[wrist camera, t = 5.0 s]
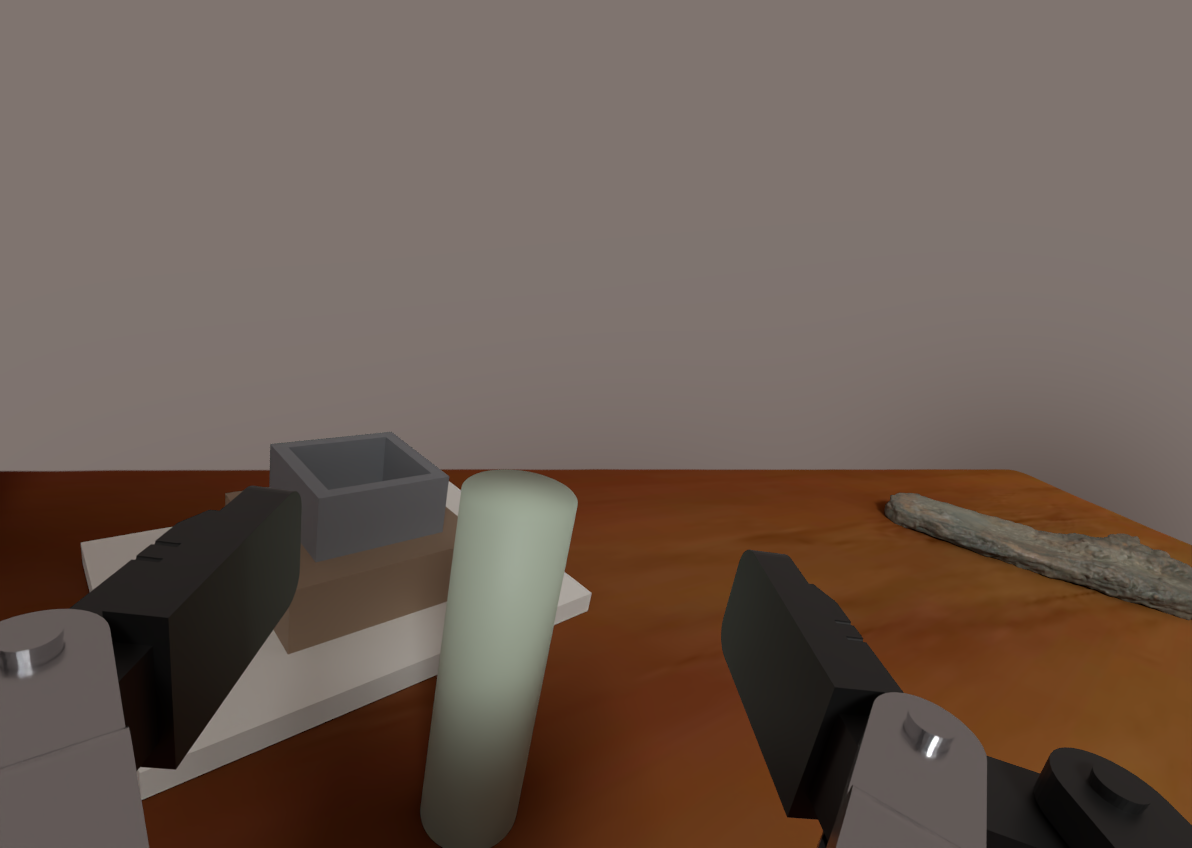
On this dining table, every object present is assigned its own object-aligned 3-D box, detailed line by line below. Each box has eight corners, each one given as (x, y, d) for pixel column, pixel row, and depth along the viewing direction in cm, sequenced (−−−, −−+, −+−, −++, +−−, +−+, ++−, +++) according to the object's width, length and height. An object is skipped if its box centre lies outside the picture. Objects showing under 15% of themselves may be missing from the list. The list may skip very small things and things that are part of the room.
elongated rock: (877, 510, 78) (879, 544, 69) (888, 473, 76) (892, 503, 68) (1214, 598, 67) (1268, 652, 58) (1237, 557, 65) (1296, 607, 56)
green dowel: (452, 874, 25) (507, 533, 20) (402, 794, 27) (439, 479, 23) (536, 816, 28) (601, 508, 23) (483, 749, 31) (530, 463, 26)
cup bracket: (141, 800, 25) (128, 610, 22) (82, 563, 38) (70, 423, 35) (587, 610, 43) (613, 492, 40) (445, 493, 56) (456, 398, 53)
